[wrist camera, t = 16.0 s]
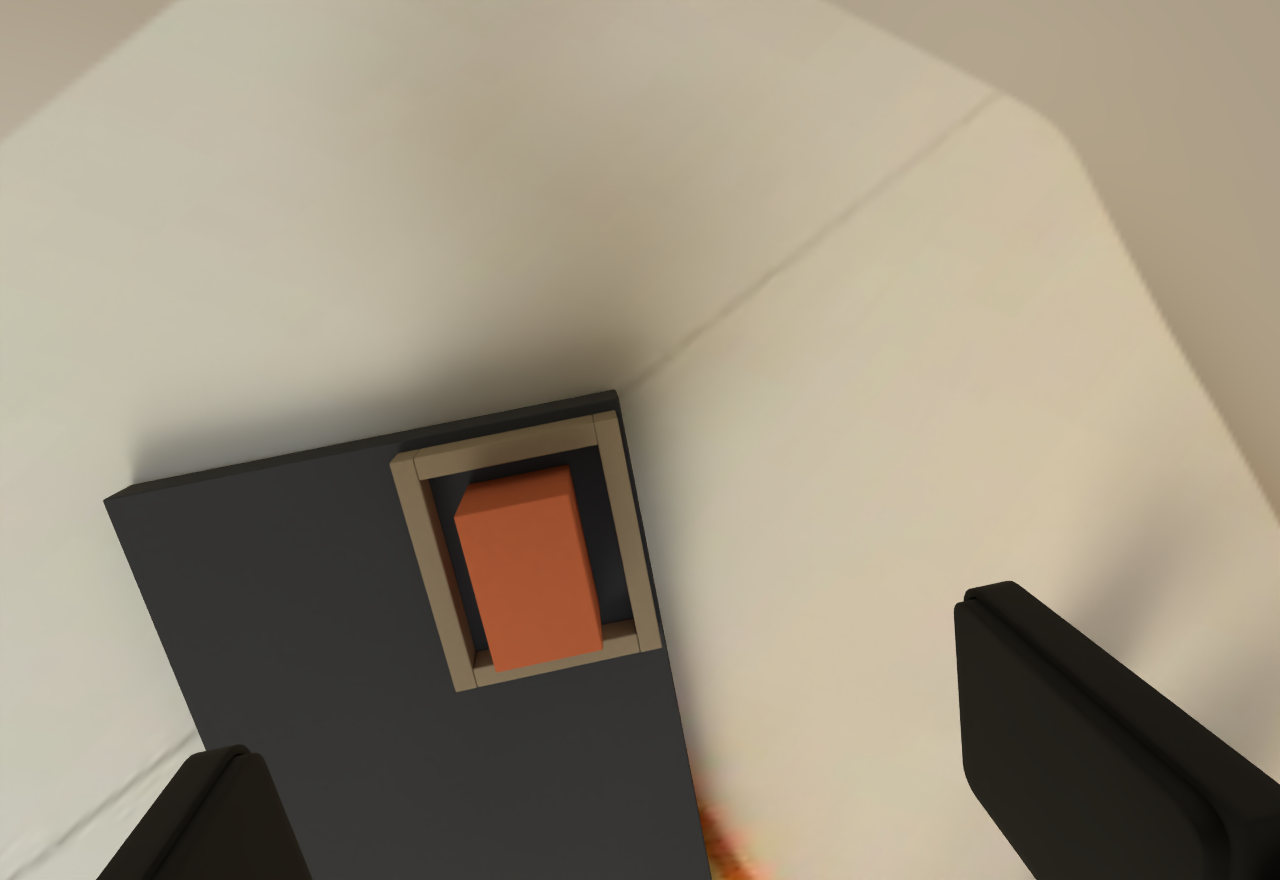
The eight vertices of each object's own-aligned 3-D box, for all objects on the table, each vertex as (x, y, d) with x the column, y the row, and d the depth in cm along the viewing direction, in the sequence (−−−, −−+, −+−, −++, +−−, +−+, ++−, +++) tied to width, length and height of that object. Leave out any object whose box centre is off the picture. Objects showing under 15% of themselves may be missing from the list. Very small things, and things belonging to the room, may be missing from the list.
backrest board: (130, 485, 31) (77, 512, 28) (615, 389, 32) (620, 404, 29) (329, 984, 39) (307, 1053, 36) (713, 894, 40) (726, 952, 37)
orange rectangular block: (467, 483, 31) (452, 516, 27) (568, 463, 31) (568, 492, 27) (504, 624, 33) (495, 673, 29) (599, 604, 33) (603, 650, 29)
